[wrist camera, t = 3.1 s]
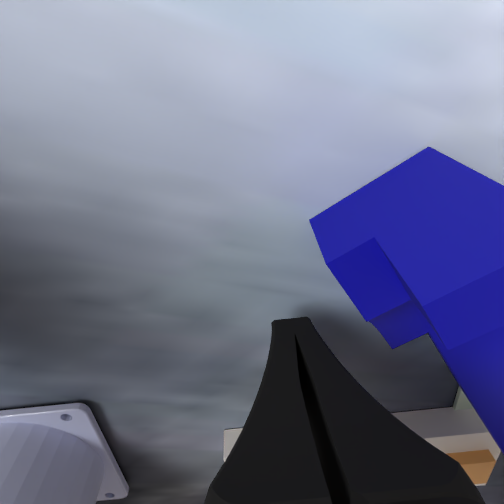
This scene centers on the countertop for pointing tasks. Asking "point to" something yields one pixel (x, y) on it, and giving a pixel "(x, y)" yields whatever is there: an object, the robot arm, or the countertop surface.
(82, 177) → the countertop surface
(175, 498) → the countertop surface
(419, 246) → the cable clip
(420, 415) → the power strip
